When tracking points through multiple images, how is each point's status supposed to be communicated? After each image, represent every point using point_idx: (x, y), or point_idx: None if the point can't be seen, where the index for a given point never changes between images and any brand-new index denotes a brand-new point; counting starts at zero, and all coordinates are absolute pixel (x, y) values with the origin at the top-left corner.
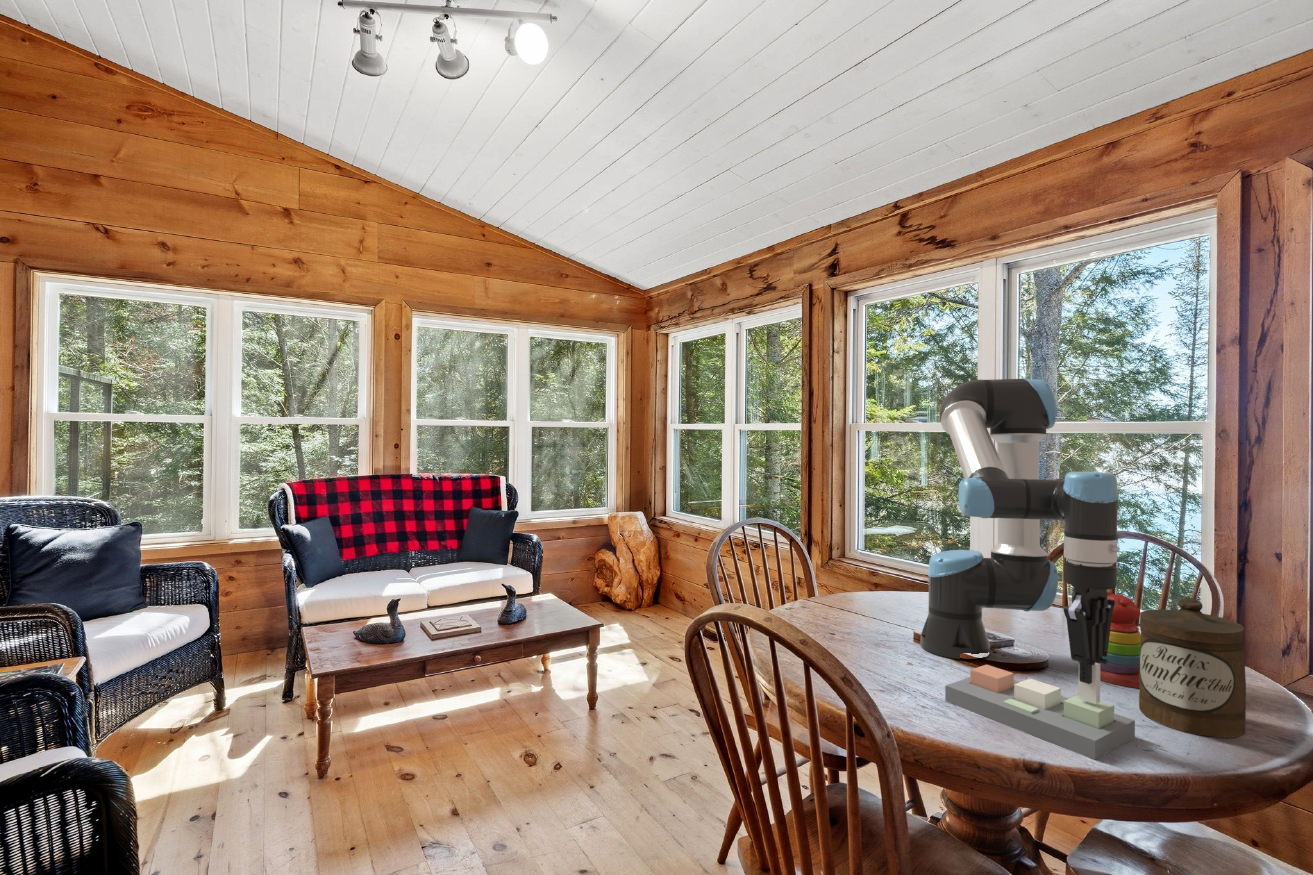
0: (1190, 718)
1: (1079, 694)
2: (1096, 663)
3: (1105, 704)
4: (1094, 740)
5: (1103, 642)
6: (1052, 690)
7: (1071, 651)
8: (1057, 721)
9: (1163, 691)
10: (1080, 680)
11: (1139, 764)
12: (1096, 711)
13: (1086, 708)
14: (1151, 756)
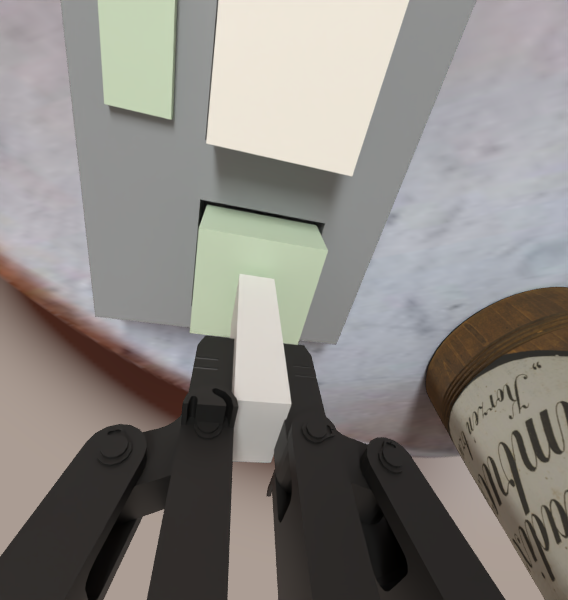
0: (439, 397)
1: (238, 286)
2: (265, 452)
3: (284, 329)
4: (95, 315)
5: (378, 588)
6: (294, 155)
7: (49, 500)
8: (133, 205)
9: (492, 400)
10: (201, 342)
11: (183, 346)
12: (194, 326)
13: (192, 301)
14: None
